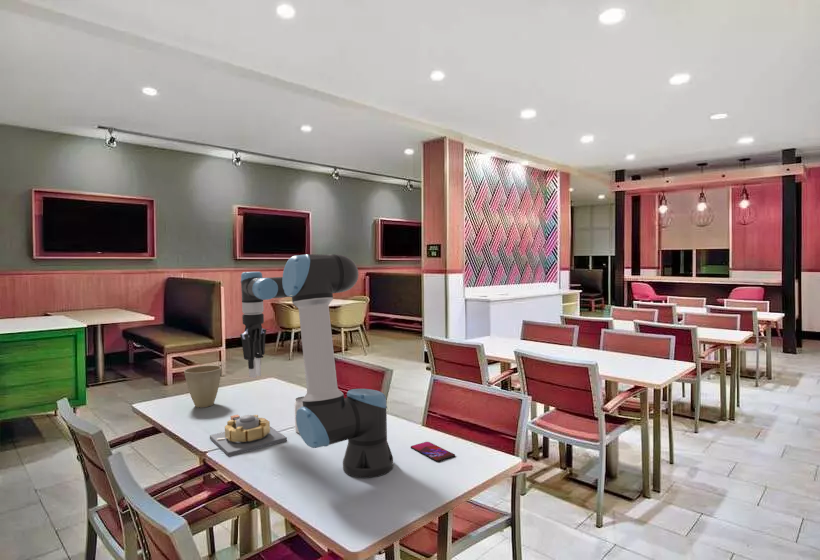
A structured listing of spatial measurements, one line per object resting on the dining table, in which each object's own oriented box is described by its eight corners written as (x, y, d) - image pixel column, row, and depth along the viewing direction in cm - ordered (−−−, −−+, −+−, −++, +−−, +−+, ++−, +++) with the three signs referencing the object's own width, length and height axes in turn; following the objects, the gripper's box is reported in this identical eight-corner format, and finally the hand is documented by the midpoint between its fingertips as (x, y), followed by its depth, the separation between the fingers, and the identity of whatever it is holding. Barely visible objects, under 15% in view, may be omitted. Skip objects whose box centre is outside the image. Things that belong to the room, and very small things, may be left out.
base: (286, 440, 170) (286, 418, 170) (228, 456, 158) (227, 431, 157) (264, 425, 186) (264, 404, 185) (209, 438, 173) (209, 416, 173)
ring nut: (274, 434, 170) (274, 422, 170) (234, 445, 162) (233, 431, 161) (252, 419, 187) (252, 407, 187) (214, 428, 178) (214, 415, 178)
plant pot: (229, 400, 219) (228, 365, 218) (208, 411, 204) (207, 373, 204) (200, 399, 222) (198, 364, 221) (177, 409, 208) (176, 372, 207)
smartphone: (428, 441, 167) (456, 454, 154) (428, 443, 167) (456, 457, 154) (409, 446, 162) (437, 460, 150) (409, 448, 162) (437, 463, 150)
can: (309, 434, 176) (308, 401, 175) (292, 433, 177) (291, 400, 176) (316, 428, 182) (315, 396, 181) (299, 427, 183) (298, 395, 183)
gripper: (256, 310, 190) (258, 371, 191) (231, 315, 175) (233, 380, 177) (273, 311, 188) (275, 372, 189) (249, 316, 173) (251, 382, 174)
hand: (255, 376), depth 183 cm, fingers open, 2 cm apart
